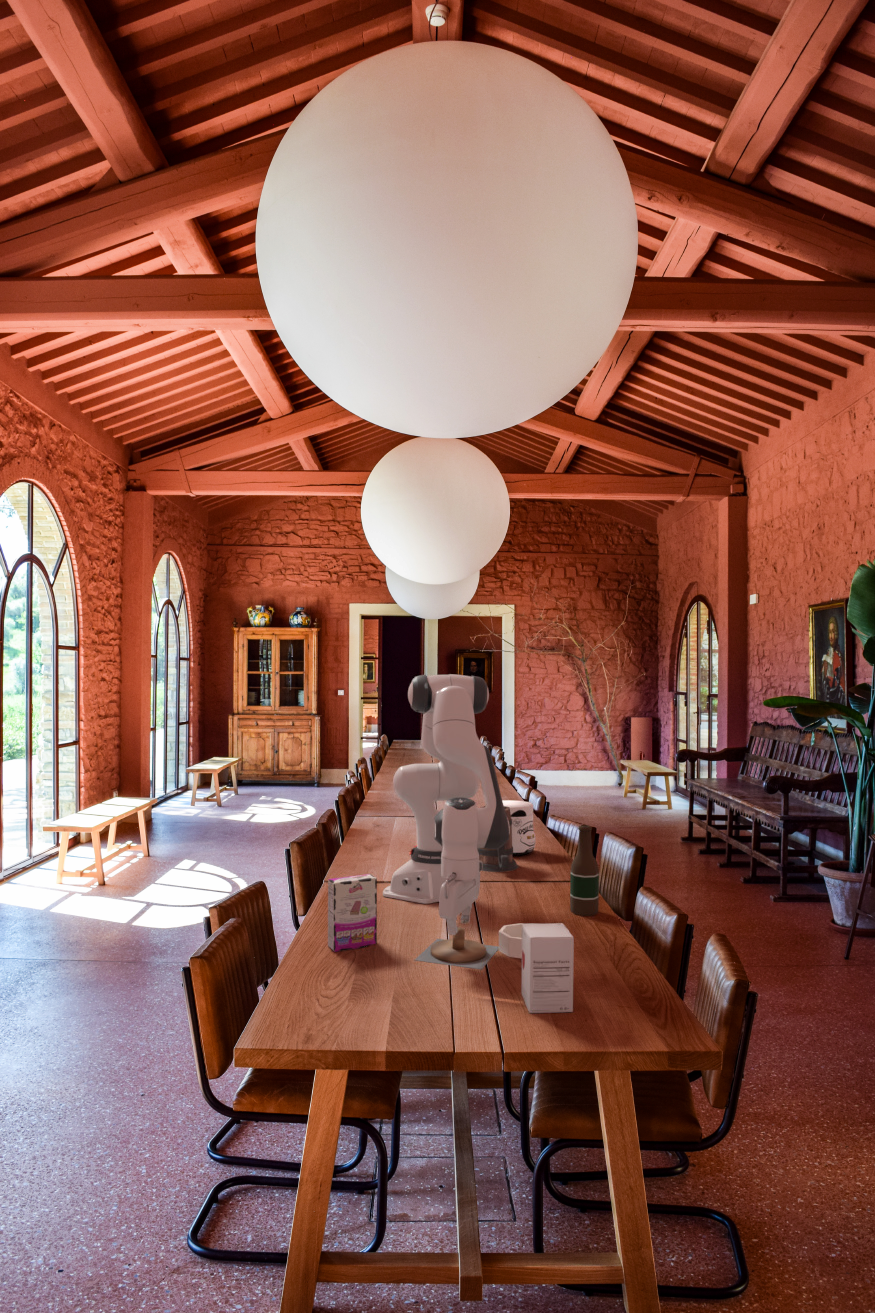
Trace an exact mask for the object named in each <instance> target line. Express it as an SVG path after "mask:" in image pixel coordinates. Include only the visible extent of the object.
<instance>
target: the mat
mask: <svg viewBox="0 0 875 1313" xmlns="http://www.w3.org/2000/svg"><path fill="white" fill-rule="evenodd" d="M442 940H445V939H443V938H436V939H435V940H434V941H433V942H432V943H431V944H429V946H428V947H427V948H425V949H424V950H423V951H422V952H421V953H420V954H419V955H417V957H416V958H414V961H417V962H424V963H431V964H438V965H445V966H454V967H460V968H465V969H466V968H467V969H473V970H474V969H475V970H483V969H484V967H485V966H487V964H488V963H489V962H490V960H491V959H493V956H495V954H496V953H497V952H498V951H499V945H498V946H497V945H491V944H490V945H488V944H483V945H484V946H485V947H486V956H485V957H484V958H483V959H481V960H479V961H475V962H470V963H450V962H445V961H441V960H438V959H436V958H434V957H433V956H432V955H431V945H432V944H434V943H435V942H438V941H442Z"/></svg>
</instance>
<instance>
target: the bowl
mask: <svg viewBox="0 0 875 1313" xmlns="http://www.w3.org/2000/svg"><path fill="white" fill-rule="evenodd" d="M522 924H525V923H513V924H506V925H505V924H504V925H503V926H502V927H501V928H500V929H499V930H498V947H499V949H498V951H499V952H501V953H502V954H503V955H505V956H507V957H509V958H515V959H516V958H517V959H521V960H522Z"/></svg>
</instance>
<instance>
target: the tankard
mask: <svg viewBox="0 0 875 1313" xmlns="http://www.w3.org/2000/svg"><path fill="white" fill-rule="evenodd" d="M484 807H486V805H485V806H480V807H479V808H484ZM504 809H505V812H506V815H507V818H508V821H509V826H510V834H509V839H508V841H507V842H506V843H505V844H504V845H503V846H501V847H500V848H499V849H497V850H496V849H485V848H477V850H478V853H479V861H482V870H481V871H480V872H489V873H490V872H491V873H503V872H504V873H506V872H512V871H517V869H519V868H520V866H519V864H518V863H517V862H516V860H515V859H514V858H513V857H514V855H513V846H512V819H511V814H510V808H509V807H507V806H504Z"/></svg>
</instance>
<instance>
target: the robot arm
mask: <svg viewBox="0 0 875 1313" xmlns="http://www.w3.org/2000/svg"><path fill="white" fill-rule="evenodd" d="M489 691H490V690H489V687H488V684H487V682H486V681H485V679H484V678H483V677H481V676H475V675H471V676H470V675H463V674H451V673H449V674H433V675H432V674H431V675H430V674H429V675H427V674H421V675H417V676H414V678H412V680H411V682H410V683H409V686H408V690H407V699H408V702H409V704H410V708H411V709H412V710H413V711H414V712H416V713H420V714H422V715H423V716H422V724H421V725H422V726H421V728H422V729H421V735H420V736H421V739H420V745H421V747H422V749H423V750H424V752H425V753H426V754H428V755H429V756H431V757H433V758H434V759H436V760H438V761H439V762H435V763H434V762H433V763H412V764H406V765H402V766H400V767H398V768H397V769H396V771H395V773H394V775H393V777H392V778H393V780H392V786H393V790H394V792H395V794H396V796H397V797H398V798H399V799H400V800H402V801H403V802H404V803H405V804H406V805H407V806H408V807H409V808H410V810H411V812H412V814H413V816H414V819H415V824H416V845H414V847H413V848H411V849H410V850H409V853H408V855H409V856H410V860H408V861H407V862H405V863H404V864H402V865H401V866H400V867H399V868H398V869H396V870H395V871H394V872H393V874H392V877H391V881H390V885H387V886H386V887H385V888H384V889H383V890H382V896H383V897H386V898H392V899H396V900H401V901H408V902H413V903H418V904H424V905H425V904H426V905H428V904H432V903H438V902H439V903H438V904H439V905H438V915H439V918H441V919H443V920H446V924H447V928H448V935H449V936H453V935H456V934H457V932H458V925H457V920H458V916H459V915H460V914H461V915H460V923H461V924H463V925H467V924H468V923H469V922H470V921H471V918H470V917H471V912H472V907H473V906H472V905H473V903H475V902H476V900H478V898H479V894H480V886H481V872H482V871H481V870H482V861H479V853H478V850H477V848H485V849H496V850H497V849H499V848H500V847H501V846H503V845H504V844H505V843H506V842H507V841H508V839H509V834H510V826H509V821H508V818H507V815H506V812H505V809H504V805H503V802H502V800H503V799H502V793H501V790H500V786H499V785H500V784H499V780H498V776H497V773H496V767H495V765H494V764H495V763H494V761H493V760H494V759H493V757H492V754H491V751H490V749H489V748H488V746H486V745H484V744H483V742H481V740H480V739H479V736H478V734H477V731H476V718H475V714H476V715H477V714H480V713H482V712H483V711H485V709H486V708H487V705H488V701H489V698H490V693H489ZM480 785H481V790H482V794H483V799H484V803H485V806H486V807H484V808H480V807H477V806H478V805H477V803H476V801H475V800H473V799H471V798H474V797H475V795H477V793H478V790H479V789H480ZM437 801H441V802H442V801H445V802H444V804H443V808H442V809H441V810H438V809H437V808H436V807H435V802H437Z"/></svg>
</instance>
